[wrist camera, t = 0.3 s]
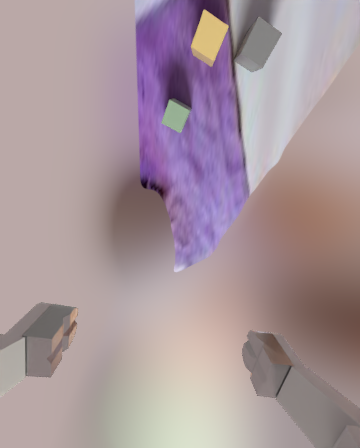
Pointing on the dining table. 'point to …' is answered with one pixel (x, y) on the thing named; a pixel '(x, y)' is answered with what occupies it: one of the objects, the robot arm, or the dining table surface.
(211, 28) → the mustard brick
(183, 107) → the sage green brick
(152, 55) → the dining table surface
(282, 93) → the dining table surface
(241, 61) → the charcoal brick
